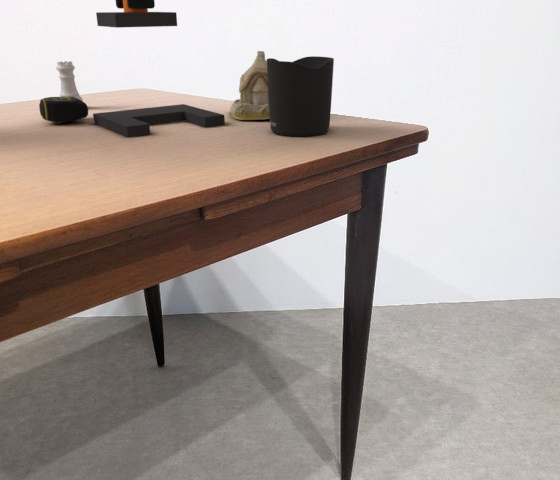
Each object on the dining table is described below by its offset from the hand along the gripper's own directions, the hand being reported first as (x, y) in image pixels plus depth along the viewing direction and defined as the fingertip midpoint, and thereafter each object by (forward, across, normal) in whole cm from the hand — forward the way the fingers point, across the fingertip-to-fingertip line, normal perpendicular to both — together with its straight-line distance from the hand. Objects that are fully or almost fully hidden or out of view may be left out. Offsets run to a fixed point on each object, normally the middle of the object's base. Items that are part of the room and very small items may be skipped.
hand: (135, 6), depth 72 cm
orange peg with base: (+2, 0, 0) cm, 2 cm away
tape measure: (+17, -27, -2) cm, 32 cm away
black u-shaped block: (+17, -16, +8) cm, 25 cm away
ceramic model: (+17, -14, +26) cm, 34 cm away
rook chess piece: (+17, -40, +2) cm, 44 cm away
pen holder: (+17, +2, +23) cm, 28 cm away
